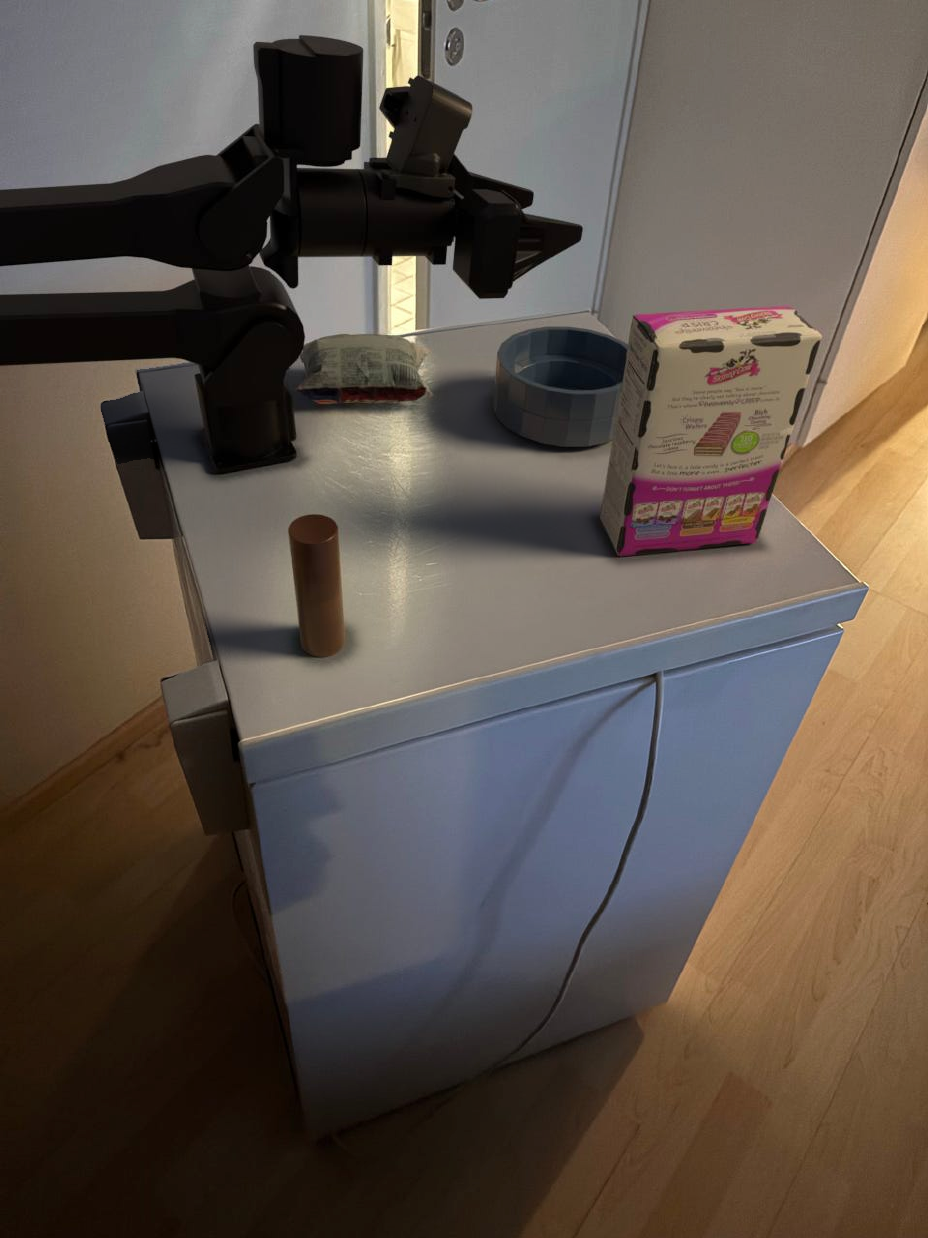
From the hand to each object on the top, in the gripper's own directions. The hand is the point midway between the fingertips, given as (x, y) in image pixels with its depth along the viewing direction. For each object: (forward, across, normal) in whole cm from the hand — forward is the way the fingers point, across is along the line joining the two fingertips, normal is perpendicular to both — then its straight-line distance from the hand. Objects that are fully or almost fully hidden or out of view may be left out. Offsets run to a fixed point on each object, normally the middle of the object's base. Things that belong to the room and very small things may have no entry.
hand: (555, 214), depth 68 cm
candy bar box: (+4, -19, +17) cm, 26 cm away
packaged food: (-13, +8, +17) cm, 23 cm away
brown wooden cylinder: (-23, -23, +19) cm, 38 cm away
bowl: (+3, -1, +16) cm, 17 cm away
